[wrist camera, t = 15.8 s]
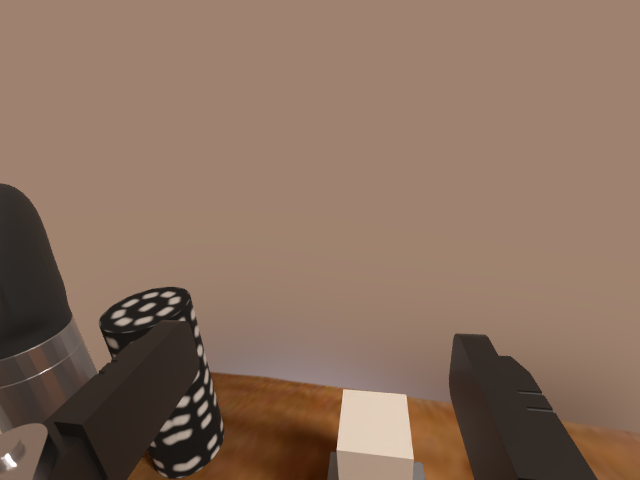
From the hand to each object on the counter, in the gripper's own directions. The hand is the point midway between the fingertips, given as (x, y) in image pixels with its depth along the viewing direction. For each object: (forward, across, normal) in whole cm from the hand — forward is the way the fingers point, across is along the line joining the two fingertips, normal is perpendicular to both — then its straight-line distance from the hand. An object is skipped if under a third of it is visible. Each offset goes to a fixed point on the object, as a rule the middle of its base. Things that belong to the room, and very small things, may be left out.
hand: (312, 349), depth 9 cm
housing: (+12, -2, +28) cm, 31 cm away
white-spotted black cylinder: (+16, +21, +30) cm, 40 cm away
